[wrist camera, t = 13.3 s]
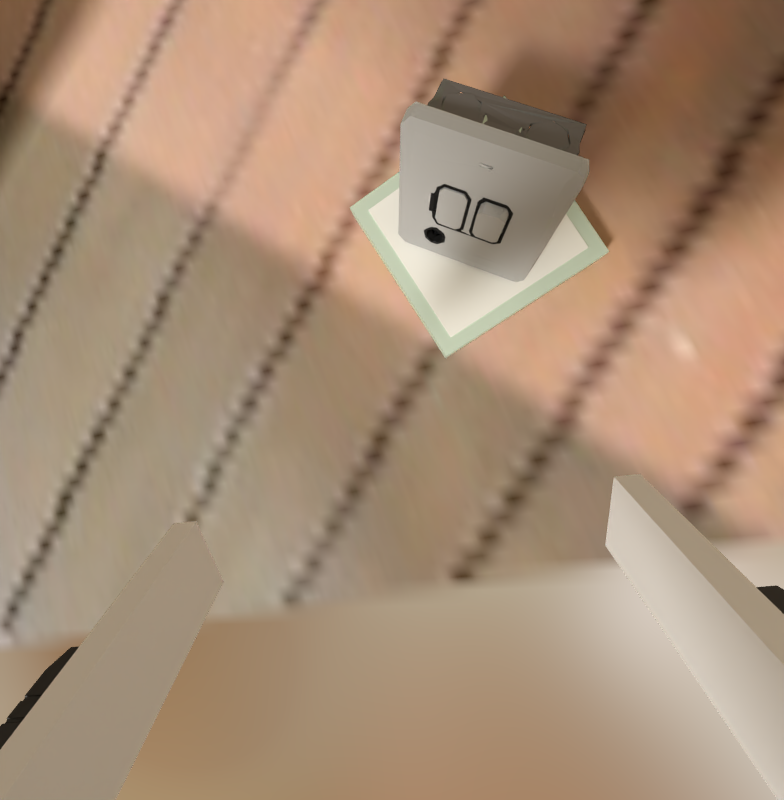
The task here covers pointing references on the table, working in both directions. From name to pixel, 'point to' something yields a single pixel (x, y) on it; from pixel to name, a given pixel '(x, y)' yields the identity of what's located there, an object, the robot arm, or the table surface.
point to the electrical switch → (486, 178)
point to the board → (469, 271)
